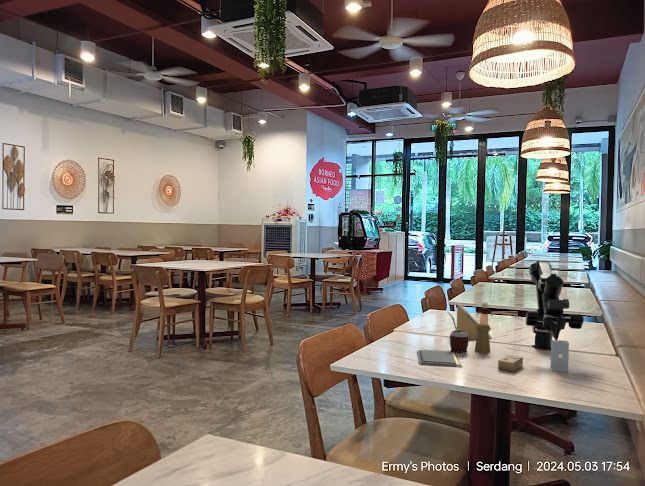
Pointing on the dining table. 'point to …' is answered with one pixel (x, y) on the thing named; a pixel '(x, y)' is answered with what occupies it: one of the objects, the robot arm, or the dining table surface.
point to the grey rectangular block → (559, 355)
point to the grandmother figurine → (484, 313)
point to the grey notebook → (438, 358)
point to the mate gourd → (458, 340)
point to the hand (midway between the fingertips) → (556, 339)
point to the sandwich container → (466, 322)
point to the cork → (482, 338)
